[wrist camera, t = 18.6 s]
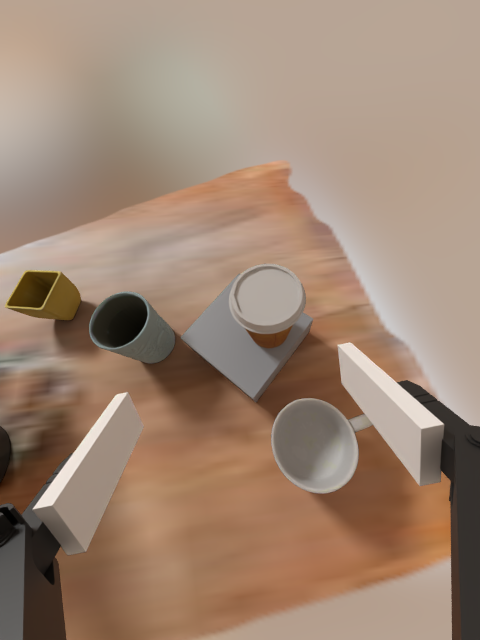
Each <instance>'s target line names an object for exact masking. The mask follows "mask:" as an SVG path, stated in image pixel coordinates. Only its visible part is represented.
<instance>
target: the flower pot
mask: <svg viewBox="0 0 480 640" xmlns="http://www.w3.org/2000/svg"><path fill="white" fill-rule="evenodd" d="M80 302H81V297H80V293H79V291H78V289H77V288H76V286H75V285H74V284H73V283H72V282H71V281H70V280H69V279H68V278H67V277H66V276H65V275H64V274H63V273H62V272H60V271H38V270H27V271H25V272H24V273H23V275H22V277H21V278H20V280H19V282H18V284H17V286H16V287H15V289H14V291H13V292H12V294H11V296H10V297H9V299H8V301H7V302H6V305H5V308H8V309H11V310H14V311H17V312H20V313H23V314H26V315H29V316H32V317H37V318H46V319H59V320H72V319H73V318H74V316H75V313H76V311H77V309H78V307H79V305H80Z"/></svg>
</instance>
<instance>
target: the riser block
mask: <svg viewBox="0 0 480 640" xmlns="http://www.w3.org/2000/svg"><path fill="white" fill-rule="evenodd" d="M239 275H241V274H238V275H237V276H236V277H235V278H234V279H233V281H232V282H231V283H230V284H229V285H228V286H227V287H226V288H225V289H224V290H223V291H222V293H221V294H220V295H219V296H218V297H217V298H216V299H215V300H214V301H213V302H212V304H211V305H210V306H209V307H208V308H207V309H206V310H205V311H204V312H203V313H202V314H201V316H200V317H199V318H198V319H197V320H196V321H195V322H194V323H193V324H192V325H191V326H190V328H189V329H188V330H187V331H186V332H185V333H184V334H183V335H182V336H181V337H180V338H181V339H182V340H183V341H184V342H185V343H186V344H187V345H188V346H190V347H191V348H192V349H193V350H194V351H195V352H196V353H198V354H199V355H200V356H201V357H202V358H204V359H205V360H206V361H207V362H208V363H210V364H211V365H212V366H213V367H214V368H215V369H217V370H218V371H219V372H220V373H221V374H223V375H224V376H225V377H226V378H227V379H229V380H230V381H231V382H232V383H233V384H235V385H236V386H237V387H238V388H239V389H240V390H242V391H243V392H244V393H245V394H246V395H248V396H249V397H250V398H251V399H252V400H254V401H255V402H257V401H258V399H259V398H260V397H261V395H262V394H263V393H264V391H265V390H266V389H267V387H268V386H269V385H270V383H271V382H272V381H273V379H274V378H275V377H276V375H277V374H278V373H279V371H280V370H281V369H282V367H283V366H284V365H285V363H286V362H287V361H288V359H289V358H290V357H291V355H292V354H293V353H294V351H295V350H296V349H297V347H298V346H299V345H300V343H301V342H302V341H303V339H304V338H305V337H306V335H307V334H308V333H309V331H310V327H311V324H312V321H313V318H311V317H309V316H308V315H306V314H305V313H302V315H301V316H300V318H299V319H298V320H297V321H296V322H295V323H294V324H293V326H292V328H291V330H290V332H289V334H288V336H287V338H286V340H285V341H284V342H283V343H282V344H281V345H280V346H278V347H275V348H264V347H261V346H259V345H257V344H256V343H255V342H254V341H253V339H252V338H251V337H250V335H249V334H248V332H247V331H246V330H245V328H244V327H242V326H241V325H240V324H239V323H238V322H237V321H236V320H235V319H234V317H233V316H232V313H231V311H230V307H229V295H230V291H231V289H232V287H233V284H234V282H235V281H236V279H237V278H238V276H239Z"/></svg>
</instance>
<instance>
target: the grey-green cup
mask: <svg viewBox="0 0 480 640" xmlns="http://www.w3.org/2000/svg"><path fill="white" fill-rule="evenodd" d="M89 333H90V337H91V339H92V341H93V342H94V343H95V344H96V345H97V346H98V347H100V348H102V349H105V350H108V351H111V352H115V353H118V354H121V355H123V356H126V357H130V358H132V359H136V360H139V361H142V362H145V363H150V364H151V363H157V362H160V361H162V360H163V359H165V358H166V357H167V356H168V355H169V354H170V353H171V351H172V350H173V348H174V345H175V335H174V332H173V330H172V329H171V327H170V326H169V325H168V324H167V323H166V322H165V321H164V320H163V319H162V317H160V316H159V315H158V314H157V312H156V310H154V309H153V308H152V306H151V305H150V304H149V303H148V302H147V300H146V299H145V298H144V297H143V296H141V295H140V294H138V293H135V292H120V293H117V294H114V295H112V296H110V297H108V298H107V299H105V300H104V301H103V302H102V303H101V304H100V305H99V306H98V307H97V308H96V310H95V311H94V313H93V315H92V317H91V320H90V324H89Z"/></svg>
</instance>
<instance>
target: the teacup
mask: <svg viewBox="0 0 480 640" xmlns="http://www.w3.org/2000/svg"><path fill="white" fill-rule="evenodd" d="M372 425H373V424H372V423H371V421H370V420H369V419H368V417H367V416H366V415H365V414H362V415H359V416H356V417H354V418H351V419H349V420H347V419H346V417H345V416H344V415H343V414H342V413H341V412H340V411H339V410H338V409H337V408H335V407H334V406H333V405H331V404H329V403H327V402H325V401H323V400H319V399H315V398H303V399H298V400H295V401H293V402H291V403H289V404H288V405H287V406H285V407H284V408H283V409H282V410H281V411H280V413H279V414H278V416H277V417H276V419H275V421H274V424H273V428H272V435H271V444H272V450H273V454H274V458H275V460H276V462H277V465H278V466H279V468H280V470H281V471H282V473H283V474H284V475H285V477H287V478H288V480H290V481H291V482H292V483H293V484H295V485H296V486H298V487H300V488H301V489H303V490H306V491H309V492H312V493H321V494H322V493H331V492H334V491H337V490H338V489H340V488H341V487H343V486H344V485H345V484H347V482H348V481H349V480H350V479H351V478H352V476H353V475H354V472H355V470H356V467H357V464H358V457H359V449H358V443H357V439H356V436H355V432H358V431H360V430H363V429H365V428H368V427H370V426H372Z"/></svg>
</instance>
